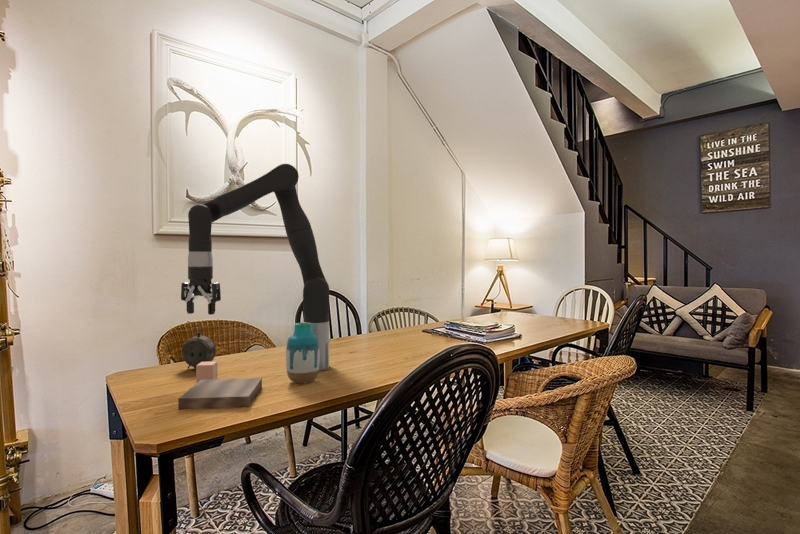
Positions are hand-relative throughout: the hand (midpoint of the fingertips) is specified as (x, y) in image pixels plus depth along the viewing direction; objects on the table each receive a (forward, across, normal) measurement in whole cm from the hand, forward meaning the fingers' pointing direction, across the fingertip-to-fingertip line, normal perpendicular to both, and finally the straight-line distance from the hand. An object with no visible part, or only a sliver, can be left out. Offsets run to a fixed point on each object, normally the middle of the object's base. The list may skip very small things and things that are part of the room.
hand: (200, 313), depth 145 cm
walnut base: (+22, -21, +15) cm, 34 cm away
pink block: (+22, -5, +3) cm, 22 cm away
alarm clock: (+22, +9, -8) cm, 25 cm away
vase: (+22, -35, -7) cm, 42 cm away
